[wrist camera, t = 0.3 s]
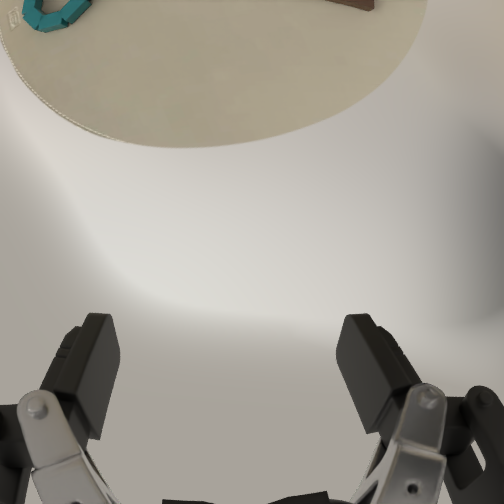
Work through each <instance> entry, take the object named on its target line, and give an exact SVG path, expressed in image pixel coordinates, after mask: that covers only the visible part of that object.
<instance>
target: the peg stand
mask: <svg viewBox="0 0 504 504" xmlns="http://www.w3.org/2000/svg"><path fill="white" fill-rule="evenodd" d="M326 1H331V2H335V3H340V4H344V5H348V6H352V7H355V8H359V9H363V10H366V11H371V10H372V9H374V0H326Z"/></svg>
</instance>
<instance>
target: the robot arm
mask: <svg viewBox="0 0 504 504" xmlns="http://www.w3.org/2000/svg"><path fill="white" fill-rule="evenodd" d="M336 359H337V364H338V366H339V369H340V371H341V373H342V376H343V378H344V380H345V383H346V385H347V388H348V390H349V392H350V395H351V397H352V399H353V402H354V404H355V407H356V409H357V412H358V414H359V417H360V419H361V421H362V424H363V426H364V429H365V431H366V434H369V433H374V432H379V434H380V436H381V437H380V439H379V440H378V442H377V445H376V448H375V450H374V453H373V455H372V458H371V460H370V463H369V465H368V467H367V470H366V472H365V474H364V477H363V479H362V481H361V483H360V485H359V487H358V489H357V490H356V492H355V493H354V495H353V497H352V498H351V500H350V502H346V501H342V500H334V499H329V498H328V494H327V491H323V492H318V493H312V494H305V495H298V496H291V497H286V498H284V499H281V500H278V501H275V502H272V503H268V504H437V502H438V498H439V494H440V490H441V486H442V482H443V480H444V483H445V485H446V487H447V490H448V493H449V496H450V498H451V501H452V503H453V504H504V406H503V404H502V403H501V401H500V400H499V398H498V396H497V395H496V394H495V393H494V392H493V391H492V390H491V389H489V388H487V387H484V386H474V387H472V388H471V389H470V390H469V391H468V393H467V394H466V396H465V397H446V396H445V394H444V393H443V392H442V391H441V390H440V389H439V388H438V387H436V386H433V385H431V384H428V383H422V381H421V380H420V378H419V376H418V375H417V373H416V372H415V370H414V368H413V367H412V365H411V364H410V362H409V361H408V359H407V357H406V356H405V355H403V351H402V350H401V348H400V347H398V344H397V342H396V341H395V339H394V338H393V336H392V335H391V334H390V333H389V332H388V331H386V330H385V329H384V328H382V327H381V326H376V324H375V323H374V321H373V320H372V318H371V317H370V315H369V314H367V313H365V314H349V315H347V316H346V317H345V319H344V323H343V326H342V330H341V334H340V337H339V341H338V344H337V348H336ZM119 363H120V348H119V344H118V340H117V336H116V332H115V327H114V323H113V319H112V316H111V315H110V314H102V313H89V314H88V315H87V317H86V319H85V321H84V323H83V325H82V327H79V326H75V327H74V328H73V329H72V330H71V331H70V332H69V333H67V335H65V337H64V339H63V341H62V343H61V345H60V348H59V349H58V351H57V353H56V357H54V359H53V361H52V363H51V365H50V367H49V369H48V372H47V373H46V376H45V378H44V380H43V382H42V384H41V386H40V389H39V390H34V391H31V392H29V393H27V394H25V395H24V396H23V397H22V398H21V399H20V401H19V403H18V404H12V405H0V504H24V503H25V497H26V492H27V487H28V482H29V478H30V473H31V475H32V479H33V482H34V484H35V486H36V489H37V492H38V494H39V496H40V499H41V501H42V503H43V504H121V503H120V502H119V501H118V499H117V498H116V497H115V495H114V494H113V492H112V491H111V489H110V487H109V486H108V484H107V483H106V481H105V479H104V478H103V476H102V474H101V473H100V471H99V470H98V468H97V466H96V464H95V462H94V461H93V459H92V457H91V455H90V454H89V452H88V450H87V448H86V446H87V442H88V438H90V439H96V440H100V437H101V433H102V428H103V424H104V420H105V416H106V412H107V408H108V404H109V400H110V397H111V393H112V389H113V386H114V382H115V378H116V375H117V371H118V368H119ZM474 440H475V441H476V442H477V445H478V446H479V448H480V450H481V452H482V454H483V456H484V459H485V461H486V467H485V470H484V471H483V469H482V467H481V465H480V463H479V461H478V459H477V457H476V455H475V453H474V451H473V449H472V446H471V444H472V443H473V441H474ZM32 467H33V468H35V470H34V471H32V472H31V469H32ZM162 504H213V503H208V502H204V501H179V500H165V499H163V500H162Z"/></svg>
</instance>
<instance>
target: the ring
mask: <svg viewBox="0 0 504 504" xmlns="http://www.w3.org/2000/svg"><path fill="white" fill-rule="evenodd" d="M42 2H43V0H24V4H23V9H22V14H23V15H24V16H23V19H24V20H25V21H26V22H27V23H28V24H29V25H30V26H31V27H32V28H33V29H35V30H38V31H41V32H45V33H46V32H49V31H53V30H57V29H61V28H65V27H68V22H69V23H71V24H73V23H74V22H75V21H76V19H77V18H78V17H79V16H80V15H81V14H82V13H83V12H84V11H85V10H86V9H87V8H88V7H89V6H90V5H91V3H90V2H89V0H70V1H69V2H68V3H67V4H66V5H65V6H64V7H63V8H62V9H61V10H60V11H57V12H54V13H50V14H47V15H46V14H45V13H44V12H43V11H42V10H41V8H42Z"/></svg>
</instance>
